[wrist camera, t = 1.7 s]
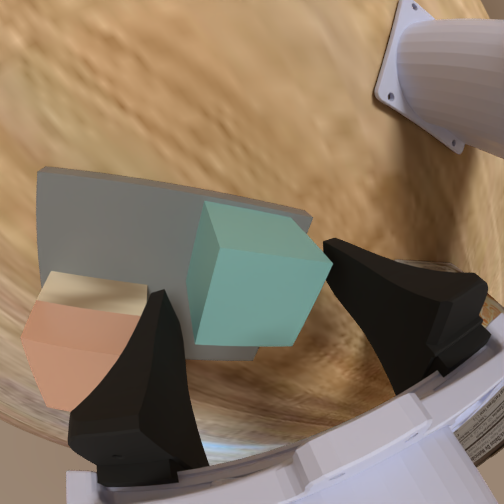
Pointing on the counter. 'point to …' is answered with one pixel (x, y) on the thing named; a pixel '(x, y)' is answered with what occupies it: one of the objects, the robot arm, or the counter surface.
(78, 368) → the terracotta slab
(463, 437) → the coffee box
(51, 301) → the maple slab
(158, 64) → the counter surface
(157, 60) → the counter surface
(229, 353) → the slate board
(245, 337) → the teal block
